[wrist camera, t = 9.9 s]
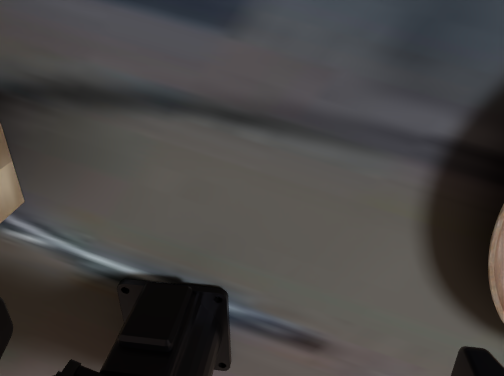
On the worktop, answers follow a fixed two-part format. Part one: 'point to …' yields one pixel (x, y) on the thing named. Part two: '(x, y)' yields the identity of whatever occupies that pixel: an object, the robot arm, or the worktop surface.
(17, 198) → the socket block
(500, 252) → the plant saucer
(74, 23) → the worktop surface
